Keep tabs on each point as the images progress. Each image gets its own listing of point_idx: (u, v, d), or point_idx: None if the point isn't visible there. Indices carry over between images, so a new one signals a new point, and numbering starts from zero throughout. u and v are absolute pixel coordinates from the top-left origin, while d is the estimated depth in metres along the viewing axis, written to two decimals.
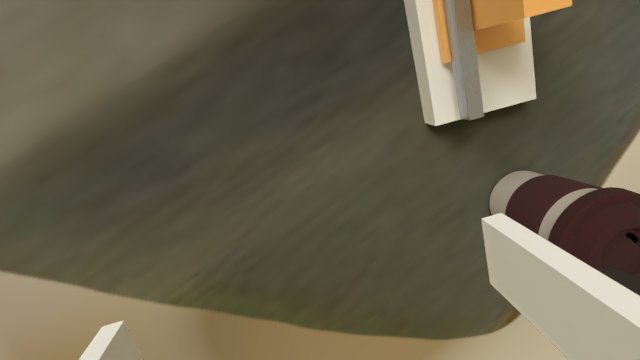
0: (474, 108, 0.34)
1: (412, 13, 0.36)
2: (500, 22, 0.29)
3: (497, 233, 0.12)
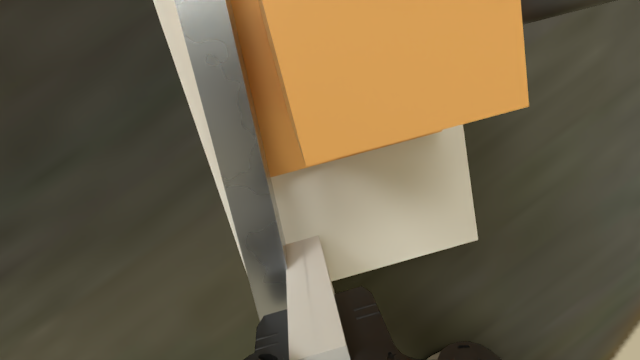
0: None
1: None
2: (294, 131, 0.08)
3: (303, 254, 0.14)
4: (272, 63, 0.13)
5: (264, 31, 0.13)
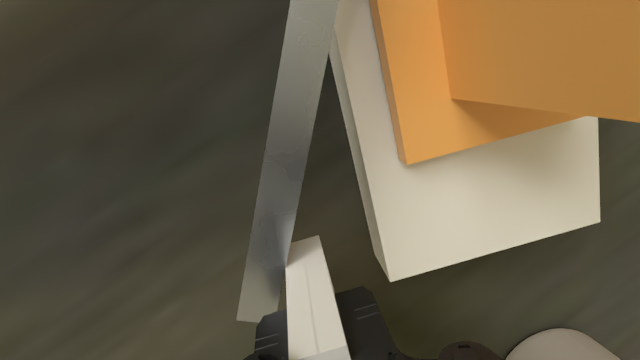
0: (255, 298, 0.13)
1: (334, 48, 0.16)
2: (556, 106, 0.09)
3: (303, 254, 0.14)
4: (441, 49, 0.14)
5: (438, 18, 0.14)
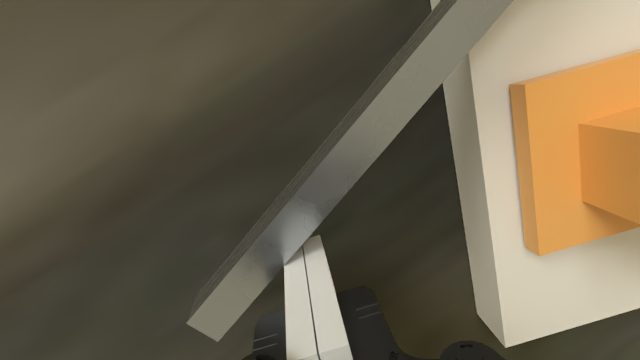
0: (215, 312, 0.13)
1: (468, 149, 0.18)
2: None
3: (304, 254, 0.14)
4: (577, 161, 0.16)
5: (577, 136, 0.16)
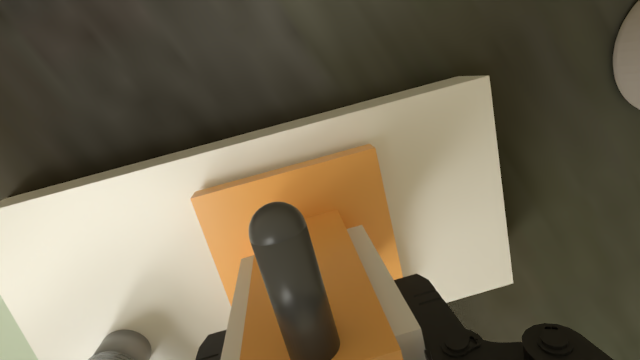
0: None
1: None
2: None
3: None
4: None
5: None
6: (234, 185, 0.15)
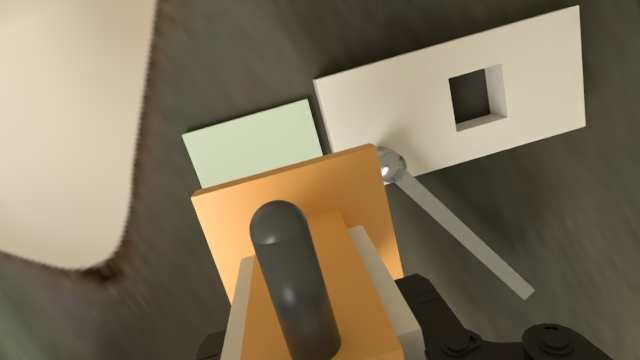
0: (522, 290, 0.35)
1: None
2: None
3: None
4: None
5: None
6: (235, 184, 0.15)
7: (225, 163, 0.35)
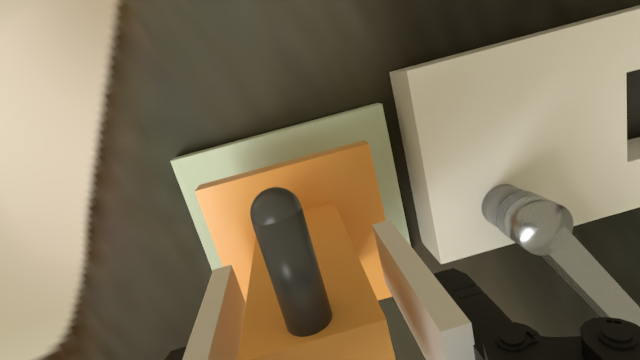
0: None
1: None
2: None
3: (379, 238, 0.14)
4: None
5: None
6: (236, 178, 0.16)
7: None
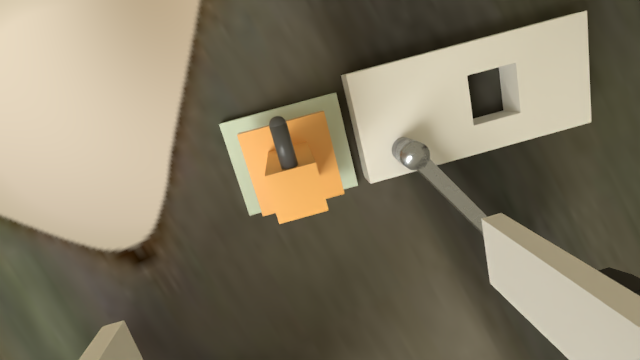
0: None
1: None
2: None
3: (497, 233, 0.12)
4: None
5: None
6: (257, 129, 0.33)
7: None
